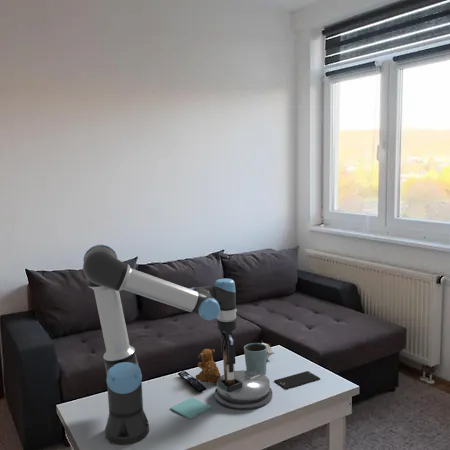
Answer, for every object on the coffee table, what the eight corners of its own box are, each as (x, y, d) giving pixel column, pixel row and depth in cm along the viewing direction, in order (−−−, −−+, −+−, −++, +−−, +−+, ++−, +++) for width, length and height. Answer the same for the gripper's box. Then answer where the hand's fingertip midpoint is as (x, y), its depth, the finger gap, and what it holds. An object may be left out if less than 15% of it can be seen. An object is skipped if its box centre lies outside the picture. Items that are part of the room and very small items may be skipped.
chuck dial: (246, 375, 214) (246, 361, 213) (280, 392, 197) (280, 378, 197) (206, 389, 201) (206, 375, 201) (239, 409, 185) (238, 394, 184)
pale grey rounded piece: (268, 366, 236) (281, 350, 233) (257, 365, 229) (270, 349, 227) (258, 352, 241) (270, 337, 239) (247, 351, 235) (259, 335, 233)
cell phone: (273, 382, 211) (273, 380, 211) (307, 372, 220) (307, 370, 220) (285, 390, 204) (285, 388, 204) (320, 380, 212) (320, 378, 212)
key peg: (229, 388, 193) (227, 353, 191) (222, 385, 196) (220, 351, 194) (237, 385, 196) (235, 350, 194) (230, 382, 199) (228, 348, 197)
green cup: (268, 377, 215) (267, 351, 213) (244, 378, 215) (244, 351, 213) (266, 367, 225) (266, 342, 223) (244, 368, 225) (243, 342, 223)
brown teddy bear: (215, 371, 222) (214, 343, 221) (227, 384, 210) (226, 354, 208) (194, 376, 219) (192, 347, 217) (205, 389, 206) (204, 359, 204)
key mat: (189, 419, 183) (189, 417, 183) (170, 409, 190) (170, 407, 190) (211, 407, 190) (211, 406, 190) (191, 398, 198) (191, 397, 198)
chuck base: (241, 377, 216) (241, 373, 216) (284, 394, 200) (284, 390, 199) (202, 396, 200) (202, 392, 199) (245, 416, 184) (245, 412, 183)
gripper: (242, 324, 185) (244, 384, 188) (230, 311, 202) (232, 367, 205) (222, 326, 184) (225, 387, 186) (212, 313, 200) (214, 369, 203)
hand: (229, 376), depth 196 cm, fingers open, 4 cm apart
